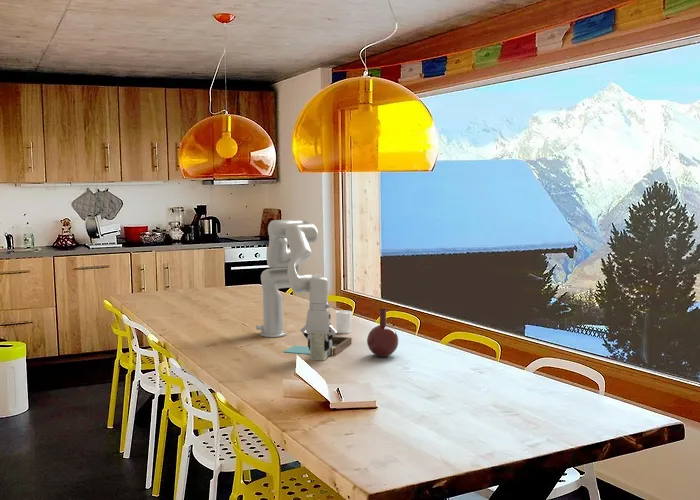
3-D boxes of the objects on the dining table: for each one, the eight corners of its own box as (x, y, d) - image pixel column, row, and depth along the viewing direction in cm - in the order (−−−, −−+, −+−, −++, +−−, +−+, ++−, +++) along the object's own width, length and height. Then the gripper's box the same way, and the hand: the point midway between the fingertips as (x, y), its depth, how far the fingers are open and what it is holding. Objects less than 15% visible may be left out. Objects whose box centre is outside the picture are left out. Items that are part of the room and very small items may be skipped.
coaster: (283, 352, 322) (283, 351, 322) (294, 346, 334) (294, 345, 334) (309, 354, 319) (309, 353, 319) (319, 348, 330) (319, 347, 330)
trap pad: (328, 345, 335) (328, 345, 335) (332, 343, 340) (332, 342, 340) (344, 346, 333) (344, 346, 333) (347, 344, 337) (347, 344, 337)
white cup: (350, 334, 359) (350, 313, 358) (334, 333, 360) (334, 313, 359) (353, 330, 366) (353, 310, 365) (337, 330, 368) (337, 310, 367)
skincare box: (327, 358, 312) (327, 329, 311) (323, 361, 308) (323, 331, 307) (313, 357, 314) (313, 328, 313) (309, 359, 310) (309, 330, 309)
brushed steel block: (312, 356, 314) (312, 342, 313) (317, 352, 320) (317, 339, 319) (327, 357, 312) (327, 343, 311) (332, 353, 318) (332, 340, 317)
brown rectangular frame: (312, 354, 319) (312, 347, 319) (330, 342, 341) (330, 336, 341) (335, 356, 316) (335, 349, 316) (351, 344, 338) (351, 337, 338)
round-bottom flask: (404, 358, 314) (404, 310, 311) (376, 361, 308) (376, 313, 306) (388, 351, 325) (389, 305, 323) (361, 354, 319) (361, 308, 317)
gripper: (341, 306, 310) (341, 349, 312) (302, 304, 315) (302, 346, 317) (335, 309, 303) (335, 353, 305) (295, 307, 308) (295, 350, 310)
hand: (318, 349), depth 311 cm, fingers closed on skincare box, 6 cm apart
